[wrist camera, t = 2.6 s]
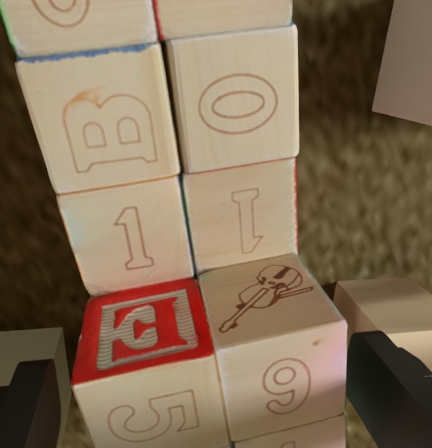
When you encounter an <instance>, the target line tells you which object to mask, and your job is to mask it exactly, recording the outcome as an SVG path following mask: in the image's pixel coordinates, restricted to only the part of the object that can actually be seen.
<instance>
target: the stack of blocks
mask: <svg viewBox="0 0 432 448" xmlns="http://www.w3.org/2000/svg"><path fill="white" fill-rule="evenodd" d="M0 15H1V18H2V21H3V24H4V26H5V29H6V32H7V35H8V38H9V41H10V43H11V45H12V47H13V49H14V51H15V53H16V61H15V68H16V72H17V76H18V80H19V83H20V86H21V89H22V92H23V95H24V98H25V102H26V105H27V108H28V111H29V114H30V118H31V121H32V124H33V127H34V130H35V133H36V136H37V139H38V142H39V145H40V148H41V152H42V155H43V158H44V161H45V164H46V167H47V170H48V174H49V177H50V181H51V184H52V187H53V189H54V191H55V192H56V197H57V204H58V209H59V212H60V215H61V217H62V221H63V224H64V228H65V231H66V234H67V237H68V240H69V243H70V246H71V249H72V251H73V254H74V257H75V260H76V263H77V266H78V269H79V272H80V275H81V278H82V281H83V284H84V286H85V287H86V289H87V291H88V292H89V294H90V299H89V300H88V302H87V305H86V309H85V313H84V316H83V325H82V330H81V335H80V338H79V342H78V348H77V352H76V359H75V363H74V368H73V372H72V379H71V388H72V391H73V394H74V396H75V399H76V401H77V404H78V406H79V409H80V411H81V414H82V416H83V419H84V421H85V424H86V427H87V429H88V431H89V433H90V436H91V438H92V441H93V444H94V447H95V448H346V426H347V423H346V418H345V415H344V412H343V411H345V407H346V368H347V327H348V325H347V322H346V319H345V318H344V317H343V316H342V315H341V313H340V312H339V310H338V309H337V308H336V306H335V305H334V304H333V302H332V301H331V300H330V298H329V297H328V296H327V294H326V293H325V292H324V290H323V289H322V288H321V286H320V285H319V283H318V282H317V281H316V279H315V278H314V276H313V275H312V274H311V272H310V271H309V270H308V268H307V267H306V265H305V264H304V263H303V261H302V260H301V259H300V257H299V256H298V229H297V174H296V158H295V157H296V156H297V154H298V153H299V92H298V35H297V27H296V25H295V24H294V23H293V22H292V0H0Z"/></svg>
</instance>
